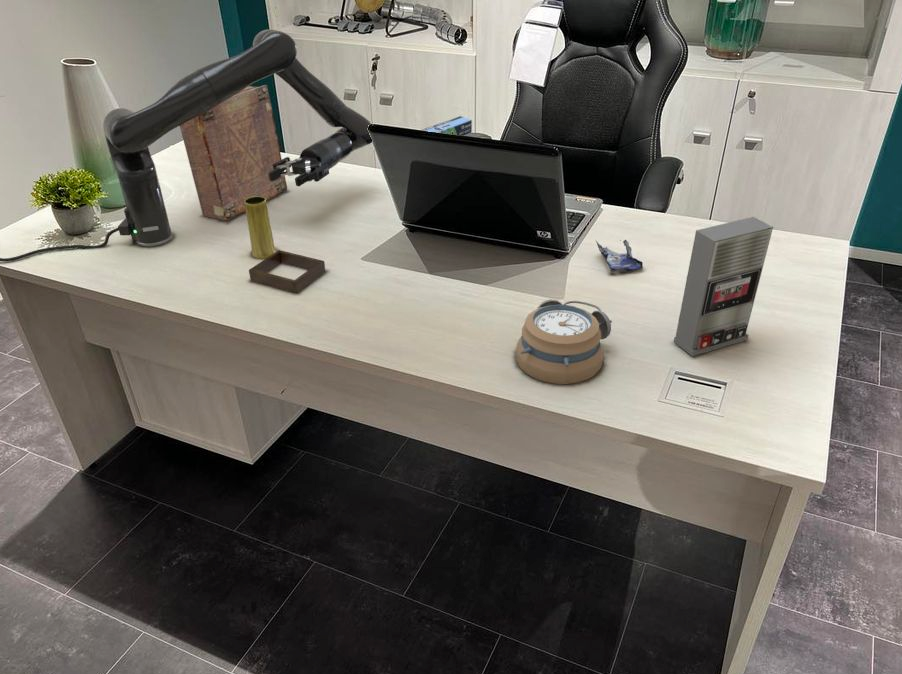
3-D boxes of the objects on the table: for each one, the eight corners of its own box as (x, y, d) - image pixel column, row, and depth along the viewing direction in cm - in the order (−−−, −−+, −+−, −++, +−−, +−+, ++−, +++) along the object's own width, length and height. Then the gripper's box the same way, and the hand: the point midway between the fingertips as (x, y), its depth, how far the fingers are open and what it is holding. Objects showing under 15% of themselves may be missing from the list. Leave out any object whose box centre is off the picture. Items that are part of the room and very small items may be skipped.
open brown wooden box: (250, 281, 181) (248, 270, 180) (280, 260, 190) (278, 249, 188) (297, 293, 176) (295, 282, 174) (325, 271, 184) (324, 260, 182)
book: (264, 186, 230) (243, 82, 213) (287, 190, 225) (267, 84, 209) (202, 216, 212) (174, 106, 196) (226, 221, 208) (199, 108, 191)
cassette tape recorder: (692, 358, 151) (717, 243, 137) (673, 342, 156) (694, 230, 141) (747, 341, 156) (777, 228, 141) (727, 327, 160) (753, 216, 146)
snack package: (641, 254, 188) (593, 249, 190) (646, 232, 184) (596, 228, 185) (640, 284, 180) (590, 279, 182) (645, 262, 175) (594, 257, 177)
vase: (280, 250, 194) (272, 197, 186) (266, 260, 190) (257, 206, 181) (261, 245, 196) (252, 193, 188) (246, 256, 192) (236, 202, 184)
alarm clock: (503, 330, 144) (549, 277, 160) (501, 370, 150) (546, 315, 166) (589, 353, 137) (628, 295, 153) (584, 394, 143) (623, 334, 159)
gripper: (297, 139, 203) (258, 161, 192) (341, 146, 197) (303, 169, 186) (302, 166, 207) (264, 189, 196) (345, 173, 201) (308, 198, 190)
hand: (283, 180), depth 191 cm, fingers open, 8 cm apart
